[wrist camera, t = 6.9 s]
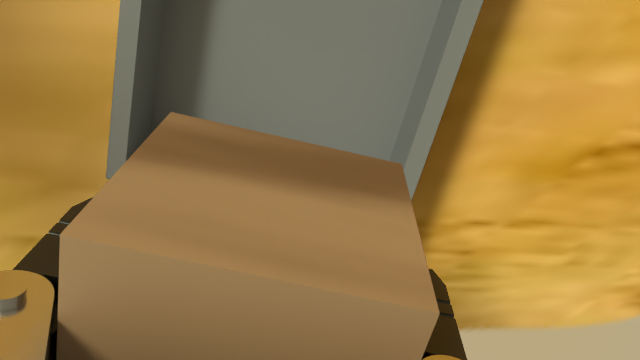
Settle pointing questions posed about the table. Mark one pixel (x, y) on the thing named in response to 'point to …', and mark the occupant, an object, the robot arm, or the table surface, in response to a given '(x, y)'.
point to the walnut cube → (244, 254)
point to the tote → (292, 71)
